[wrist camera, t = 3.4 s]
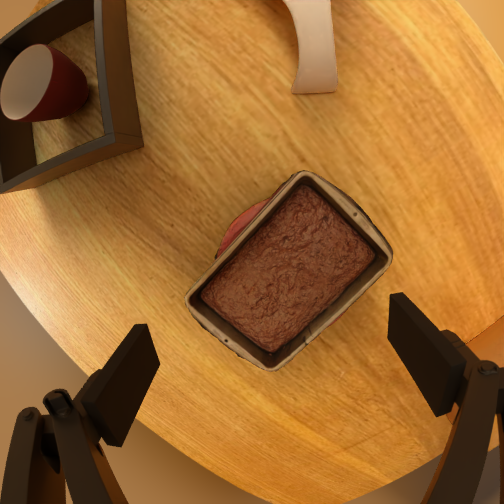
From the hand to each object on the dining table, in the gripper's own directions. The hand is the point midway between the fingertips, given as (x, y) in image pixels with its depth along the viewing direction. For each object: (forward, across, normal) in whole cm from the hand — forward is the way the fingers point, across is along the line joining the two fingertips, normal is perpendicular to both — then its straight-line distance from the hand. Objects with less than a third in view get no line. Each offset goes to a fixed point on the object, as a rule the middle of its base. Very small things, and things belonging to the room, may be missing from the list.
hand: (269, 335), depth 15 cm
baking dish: (+18, +2, -2) cm, 18 cm away
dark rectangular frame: (+18, -20, +23) cm, 36 cm away
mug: (+18, -20, +23) cm, 36 cm away
